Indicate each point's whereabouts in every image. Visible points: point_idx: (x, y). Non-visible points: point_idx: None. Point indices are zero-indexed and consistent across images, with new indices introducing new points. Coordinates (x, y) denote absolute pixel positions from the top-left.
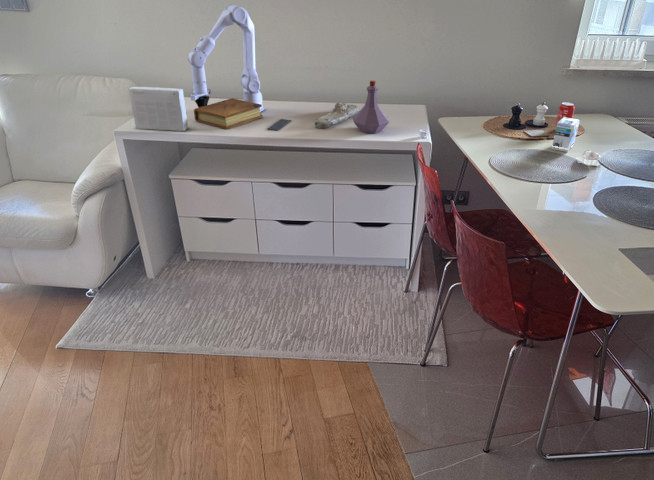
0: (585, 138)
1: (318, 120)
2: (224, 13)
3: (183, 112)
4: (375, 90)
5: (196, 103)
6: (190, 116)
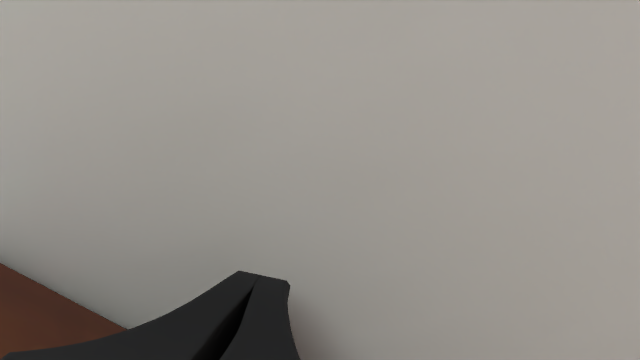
0: None
1: None
2: None
3: None
4: None
5: (104, 340)
6: (237, 57)
